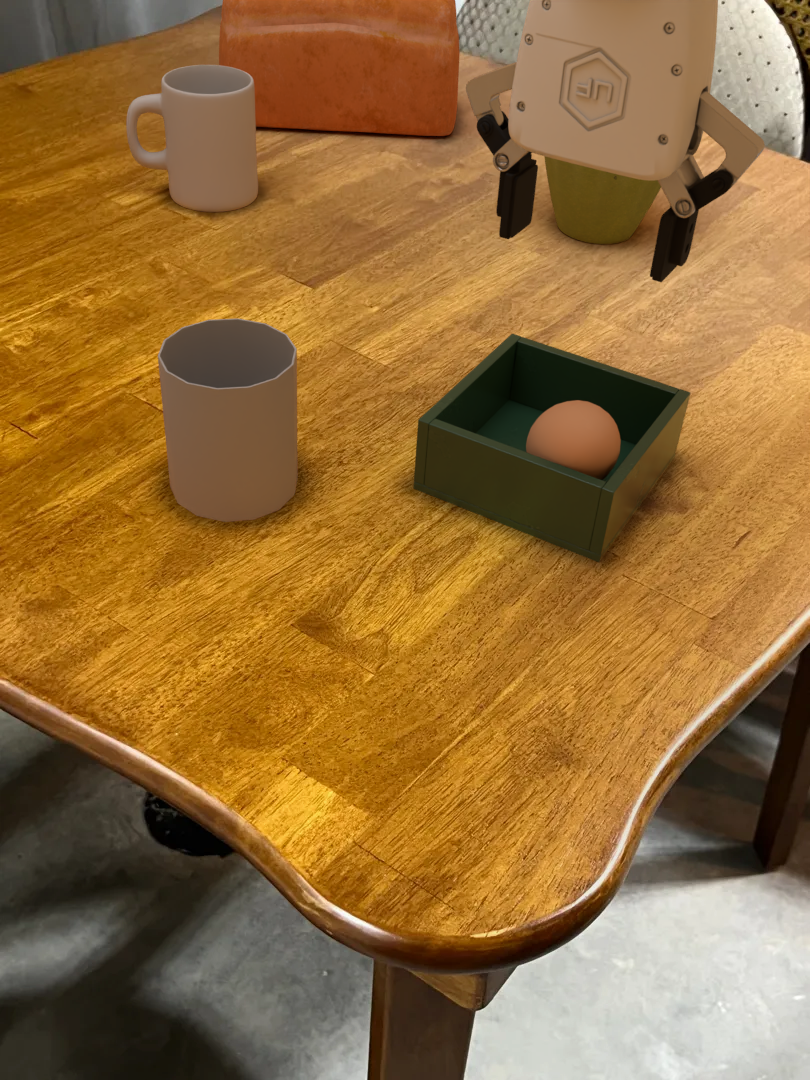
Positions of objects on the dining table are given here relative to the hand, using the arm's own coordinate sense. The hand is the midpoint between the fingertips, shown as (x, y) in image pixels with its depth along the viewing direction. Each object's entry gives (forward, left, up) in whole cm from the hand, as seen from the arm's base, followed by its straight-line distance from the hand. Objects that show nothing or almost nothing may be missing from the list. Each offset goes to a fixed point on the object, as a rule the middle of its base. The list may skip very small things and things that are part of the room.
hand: (587, 251), depth 69 cm
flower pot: (+13, -39, -17) cm, 45 cm away
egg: (0, 0, -15) cm, 15 cm away
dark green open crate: (0, 0, -17) cm, 17 cm away
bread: (+49, -49, -17) cm, 72 cm away
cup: (+17, +13, -17) cm, 27 cm away
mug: (+48, -22, -17) cm, 56 cm away
